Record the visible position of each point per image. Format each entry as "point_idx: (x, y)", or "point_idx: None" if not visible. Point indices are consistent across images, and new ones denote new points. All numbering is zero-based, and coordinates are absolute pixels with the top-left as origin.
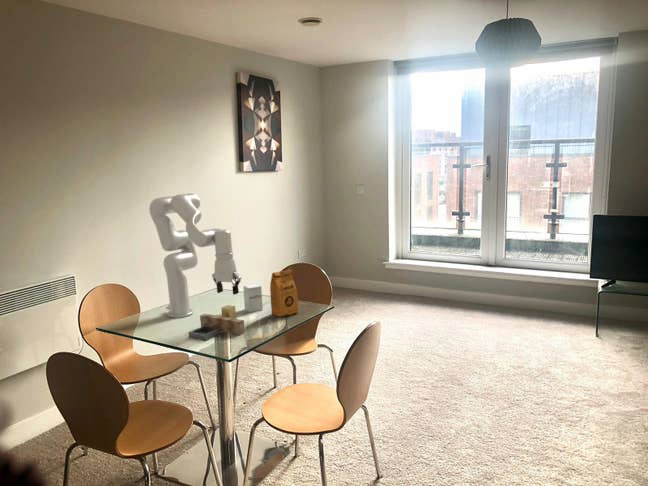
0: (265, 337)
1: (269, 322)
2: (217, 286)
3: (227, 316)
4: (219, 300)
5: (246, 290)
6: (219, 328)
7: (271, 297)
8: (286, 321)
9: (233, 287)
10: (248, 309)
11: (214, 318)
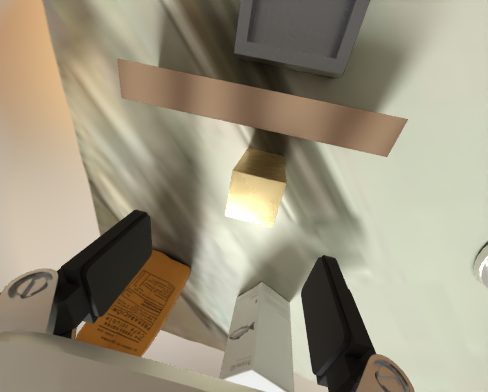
0: (65, 72)
1: (156, 212)
2: (346, 316)
3: (251, 160)
4: (402, 359)
5: (268, 362)
6: (242, 52)
7: (161, 313)
8: None
9: (78, 255)
10: (266, 290)
11: (291, 95)
